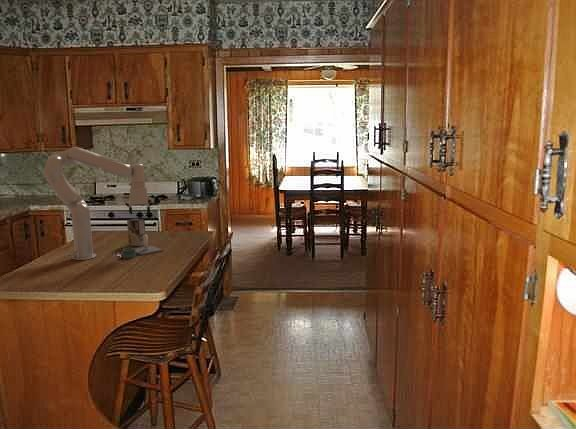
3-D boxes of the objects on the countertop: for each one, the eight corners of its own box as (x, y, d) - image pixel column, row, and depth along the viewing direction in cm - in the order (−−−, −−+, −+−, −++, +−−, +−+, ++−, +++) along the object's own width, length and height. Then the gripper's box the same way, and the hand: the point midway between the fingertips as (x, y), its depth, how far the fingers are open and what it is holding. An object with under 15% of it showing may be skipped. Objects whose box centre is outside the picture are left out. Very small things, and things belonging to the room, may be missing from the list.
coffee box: (146, 244, 312) (145, 219, 309) (140, 246, 306) (139, 220, 303) (134, 243, 315) (132, 218, 312) (128, 245, 309) (126, 220, 306)
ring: (126, 258, 276) (125, 251, 275) (121, 256, 281) (120, 249, 280) (137, 256, 281) (136, 249, 280) (132, 254, 285) (131, 247, 285)
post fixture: (140, 255, 283) (139, 238, 282) (130, 251, 294) (128, 234, 292) (162, 251, 293) (161, 234, 291) (151, 247, 303) (150, 231, 301)
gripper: (121, 186, 282) (123, 215, 285) (152, 185, 285) (154, 214, 288) (123, 184, 289) (125, 213, 292) (154, 183, 292) (155, 212, 295)
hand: (139, 213), depth 290 cm, fingers open, 9 cm apart
